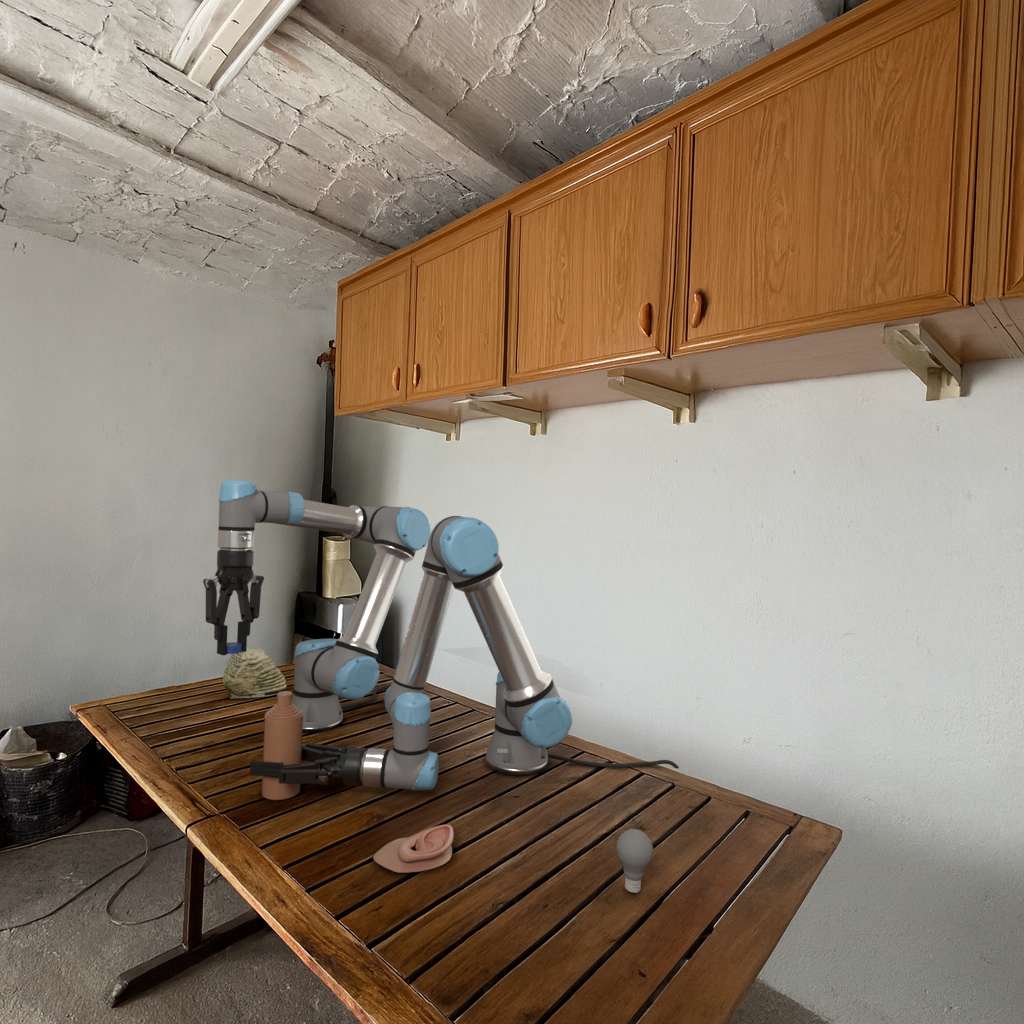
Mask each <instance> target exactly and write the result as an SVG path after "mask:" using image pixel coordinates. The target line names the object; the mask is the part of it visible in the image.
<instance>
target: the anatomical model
mask: <svg viewBox="0 0 1024 1024" xmlns="http://www.w3.org/2000/svg"><path fill="white" fill-rule="evenodd" d="M454 834H455V833H454V829H453V826H452V825H450V824H441V825H437V826H433V827H430V828H427V829H425V830H422V831H420V832H418V833H416V834H414V835H411V836H409V837H399V838H397V839H393V840H392V841H390V842H388V843H387V844H385V845H383V846H382V847H381V848H379V850H377V851H376V852H375V853H374V855H373V856H372V857H373V861H374V862H375V863H377V864H378V865H380V866H381V867H383V868H384V869H386V870H389V871H392V872H395V873H398V874H399V873H401V874H405V873H406V874H407V873H408V874H409V873H417V872H423V871H429V870H432V869H436V868H439V867H441V866H443V865H444V864H447V863H448V862H449V861H450V860H451V859H452V855H453V846H452V844H453V842H454V836H455V835H454Z"/></svg>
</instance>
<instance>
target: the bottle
mask: <svg viewBox="0 0 1024 1024" xmlns="http://www.w3.org/2000/svg"><path fill="white" fill-rule="evenodd" d="M276 698H277V703H276V704H275V705H274V706H272V707H270V708H269V709H268V710H267V711H266V712H265V714H264V719H263V747H262V750H263V751H262V762H276V763H281V762H283V765H292V764H302V761H301V759H302V746H303V733H304V732H303V712H302V710H301V709H300V708H298V707H297V706H296V705H294V704H293V703H292V699H293V692H292V691H289V690H285V691H282V692H279V693H278V694H276ZM301 785H302V784H280V783H279V777H267V776H261V796H262V797H263V798H265V799H267V800H272V801H280V800H287V799H290V798H293V797H295V796H296V795H299V793H300V792H301Z"/></svg>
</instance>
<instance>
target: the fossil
mask: <svg viewBox="0 0 1024 1024" xmlns="http://www.w3.org/2000/svg"><path fill="white" fill-rule="evenodd" d="M230 655H231V656H230V657H229V659H228V660H227V663H226V666H225V668H224V671H223V675H222V676H223V677H222V685H223V687H224V688H225V690H226V691H228V693H229V698H230V699H250V698H264V697H271V696H275V695H276V696H277V694H278V693H279V692H282V691H287V690H286V689H287V687H288V686H287V680H286V678H285V676H284V674H283V673H282V672H281V669H279V668H278V667H277V665H276V663H275V662H274V660H273V659H272V658H271V657H270V656H269V655H268V654H267V653H266V652H265V650H264V649H263V648H260V647H258V648H251V647H247V649H246V652H242V651H241V652H240V653H236V654H230Z"/></svg>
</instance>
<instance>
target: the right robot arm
mask: <svg viewBox="0 0 1024 1024" xmlns="http://www.w3.org/2000/svg"><path fill="white" fill-rule="evenodd" d="M499 546H500V545H499V540H498V537H497V535H496V533H495V532H494V530H493V529H492V528H491V527H490V526H489V525H488V524H486V523H485V522H484V521H483V520H480V519H478V518H475V517H471V516H461V515H451V516H447V517H444V518H442V519H441V520H440V521H438V522H437V523H436V524H435V526H434V527H433V529H432V530H431V533H430V538H429V541H428V543H427V545H426V550H425V554H424V557H423V561H422V565H421V569H422V571H423V576H422V580H421V582H420V583H421V584H420V587H419V590H418V594H417V597H416V600H415V604H414V607H413V611H412V614H411V617H410V620H409V623H408V627H407V631H406V635H405V638H404V641H403V645H402V648H401V652H400V655H399V658H398V661H397V665H396V669H395V672H394V675H393V679H392V682H391V684H392V685H391V686H390V687H389V688H386V689H387V690H386V691H385V693H384V708H385V710H386V712H387V713H388V714H387V715H388V716H389V719H390V722H391V725H392V726H393V727H392V728H393V738H392V744H393V745H392V749H388V748H377V747H376V748H375V747H369V748H367V747H357V746H350V747H348V746H333V745H327V744H320V743H314V742H313V743H312V742H307V743H305V745H302V759H301V762H304V761H306V762H305V763H301V764H292V765H283V762H281V763H276V762H263V761H259V760H251V761H250V763H249V776H255V777H262V776H267V777H279V783H280V784H301V785H302V784H303V785H304V784H306V785H307V784H315V785H322V786H326V785H328V784H329V779H334V778H341V780H342V783H343V785H345V786H353V787H354V786H356V787H360V786H362V785H363V786H364V787H371V788H375V789H380V788H385V789H386V788H387V789H397V790H398V789H399V790H410V791H431V790H433V789H435V787H436V784H437V782H438V777H439V771H440V770H439V768H440V761H439V759H440V758H439V754H438V753H436V752H433V751H430V729H431V728H430V726H431V715H432V710H431V699H430V697H429V696H428V694H424V692H425V688H426V684H427V681H428V677H429V674H430V671H431V668H432V664H433V661H434V658H435V653H436V650H437V647H438V645H439V640H440V637H441V633H442V630H443V626H444V623H445V619H446V617H447V612H448V609H449V606H450V603H451V599H452V596H453V593H454V590H458V591H460V592H462V593H464V595H465V598H466V600H467V602H468V605H469V607H470V609H471V611H472V613H473V616H474V618H475V620H476V622H477V625H478V627H479V629H480V631H481V633H482V636H483V638H484V641H485V643H486V645H487V648H488V650H489V651H490V654H491V656H492V658H493V661H494V663H495V666H496V667H497V670H498V673H497V676H496V682H495V686H496V687H495V709H494V710H495V711H494V731H493V732H492V733H493V734H492V736H491V738H490V742H489V744H488V746H487V750H486V753H485V764H486V765H487V767H488V768H490V769H491V770H492V771H495V772H498V773H501V774H504V775H510V776H530V775H536V774H539V773H541V772H544V770H546V769H547V767H548V766H549V759H552V760H553V759H554V760H559V761H563V762H567V763H571V764H575V765H576V764H577V765H583V766H590V767H597V768H598V767H599V768H618V769H619V768H621V769H622V768H633V767H644V766H645V767H647V766H648V767H649V766H650V767H651V766H658V765H669V766H671V767H673V768H674V769H677V770H678V769H680V767H679V766H678V764H677V763H676V762H674V761H672V760H669V759H658V760H652V761H651V760H650V761H634V762H624V763H612V762H611V763H609V762H596V761H587V760H580V759H575V758H571V757H567V756H563V755H557V754H552V753H549V752H548V751H547V749H549V748H552V747H555V746H557V745H559V744H560V743H561V742H562V741H564V739H566V738H567V736H568V734H569V733H570V730H571V728H572V725H573V712H572V709H571V707H570V706H569V704H568V703H567V701H566V700H565V699H563V698H562V697H561V695H560V693H559V691H558V688H557V687H556V684H555V682H554V680H553V678H552V675H551V674H550V673H549V672H548V671H545V670H542V669H541V667H540V664H539V662H538V661H537V658H536V656H535V653H534V650H533V649H532V646H531V643H530V642H529V639H528V637H527V635H526V631H525V630H524V628H523V626H522V623H521V621H520V618H519V616H518V613H517V611H516V609H515V606H514V605H513V602H512V600H511V598H510V596H509V593H508V591H507V589H506V586H505V584H504V582H503V579H502V577H501V575H502V572H503V570H504V564H503V562H502V559H501V556H500V554H499V552H500V547H499Z"/></svg>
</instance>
